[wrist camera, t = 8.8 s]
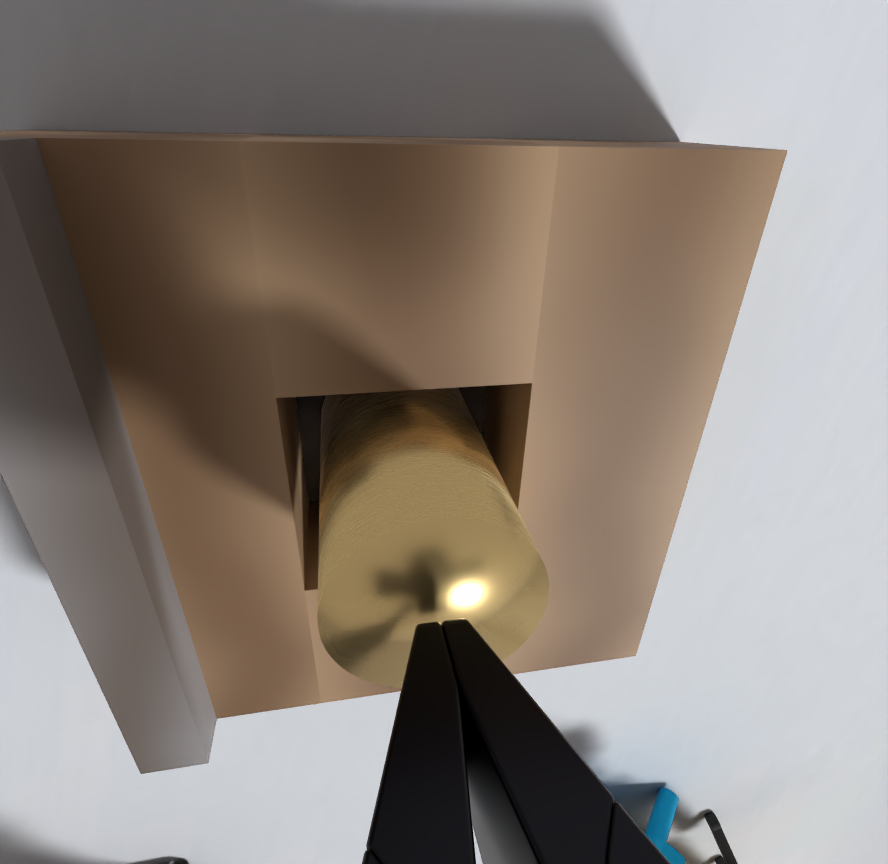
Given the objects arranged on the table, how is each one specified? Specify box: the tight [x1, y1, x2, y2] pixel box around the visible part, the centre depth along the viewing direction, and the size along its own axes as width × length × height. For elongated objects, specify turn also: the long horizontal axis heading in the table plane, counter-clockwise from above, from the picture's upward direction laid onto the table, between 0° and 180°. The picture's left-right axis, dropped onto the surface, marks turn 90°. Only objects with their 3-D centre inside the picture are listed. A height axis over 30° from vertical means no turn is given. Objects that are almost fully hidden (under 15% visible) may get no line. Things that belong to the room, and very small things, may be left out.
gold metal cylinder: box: [317, 387, 549, 688], centre depth 12 cm, size 4×4×7 cm
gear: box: [645, 788, 686, 864], centre depth 28 cm, size 11×6×10 cm
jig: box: [0, 130, 787, 774], centre depth 13 cm, size 14×14×5 cm
